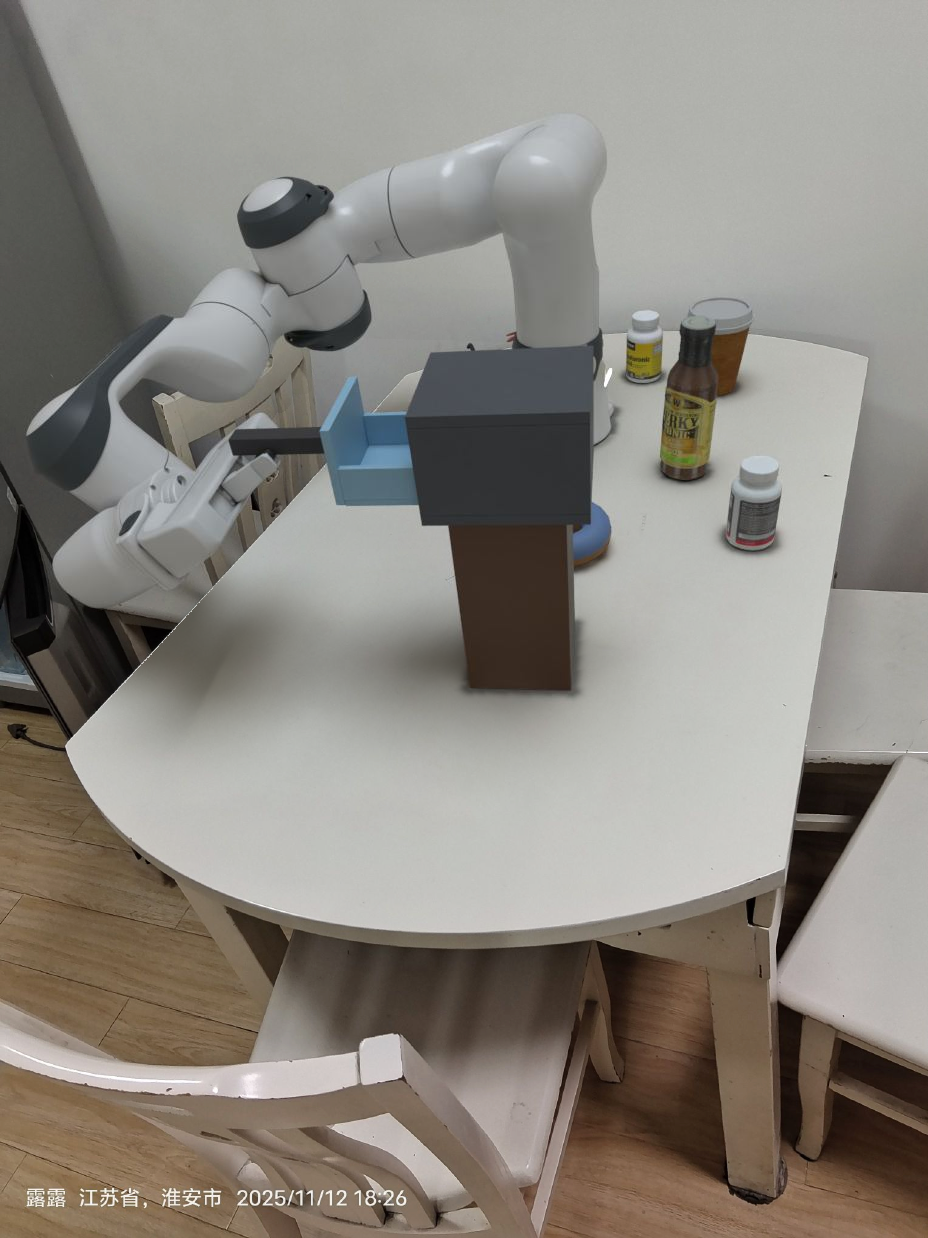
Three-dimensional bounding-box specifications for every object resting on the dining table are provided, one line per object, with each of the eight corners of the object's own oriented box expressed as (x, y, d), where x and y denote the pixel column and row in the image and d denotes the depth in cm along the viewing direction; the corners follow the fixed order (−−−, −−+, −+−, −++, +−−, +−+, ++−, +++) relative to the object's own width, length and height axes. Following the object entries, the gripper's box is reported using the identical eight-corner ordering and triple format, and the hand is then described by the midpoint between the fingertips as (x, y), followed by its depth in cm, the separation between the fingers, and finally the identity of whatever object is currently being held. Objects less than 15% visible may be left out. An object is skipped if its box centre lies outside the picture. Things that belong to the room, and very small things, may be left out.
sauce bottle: (649, 472, 112) (656, 323, 99) (678, 453, 115) (688, 306, 102) (690, 488, 108) (703, 335, 95) (719, 468, 111) (735, 317, 98)
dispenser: (448, 694, 84) (404, 416, 65) (464, 616, 93) (430, 352, 74) (591, 698, 82) (590, 411, 63) (594, 617, 91) (593, 345, 72)
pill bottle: (784, 539, 98) (796, 464, 92) (751, 557, 96) (761, 482, 90) (747, 520, 102) (757, 446, 96) (715, 537, 100) (723, 463, 94)
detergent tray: (226, 507, 74) (201, 434, 70) (261, 450, 82) (242, 380, 77) (485, 504, 70) (477, 426, 66) (498, 444, 78) (492, 371, 73)
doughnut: (553, 583, 96) (551, 550, 93) (512, 540, 103) (509, 508, 100) (628, 554, 99) (629, 521, 96) (582, 515, 106) (582, 483, 103)
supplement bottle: (618, 379, 134) (619, 317, 128) (638, 366, 137) (640, 305, 131) (648, 387, 131) (650, 324, 125) (667, 373, 134) (671, 311, 128)
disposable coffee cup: (668, 383, 131) (672, 305, 124) (720, 367, 134) (727, 290, 126) (705, 406, 124) (712, 326, 117) (759, 390, 127) (770, 309, 119)
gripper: (238, 483, 91) (332, 420, 85) (161, 604, 76) (269, 538, 69) (194, 437, 88) (289, 369, 82) (105, 554, 73) (213, 481, 66)
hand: (279, 448), depth 75 cm, fingers closed
